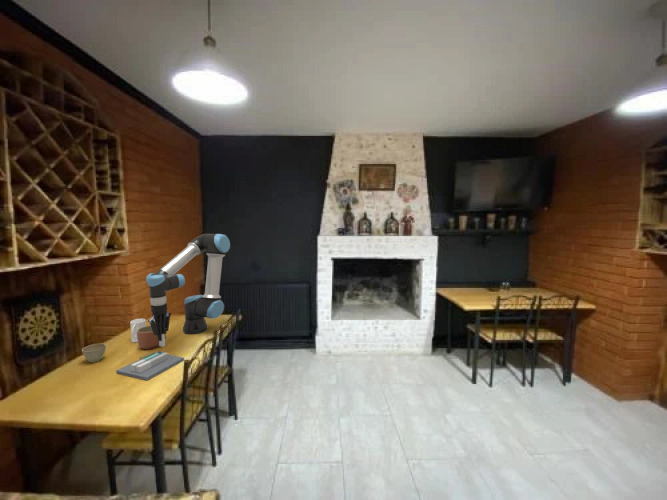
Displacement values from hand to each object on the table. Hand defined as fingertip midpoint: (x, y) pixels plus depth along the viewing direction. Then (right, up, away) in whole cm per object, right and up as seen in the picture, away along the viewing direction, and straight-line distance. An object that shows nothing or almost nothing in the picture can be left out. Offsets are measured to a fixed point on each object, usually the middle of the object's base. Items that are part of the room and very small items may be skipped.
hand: (162, 345), depth 173 cm
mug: (-26, -3, +20) cm, 33 cm away
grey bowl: (-32, -6, -6) cm, 33 cm away
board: (+1, -7, -13) cm, 14 cm away
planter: (-13, -4, +12) cm, 18 cm away
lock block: (-3, -5, -9) cm, 11 cm away
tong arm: (0, -5, -13) cm, 14 cm away
